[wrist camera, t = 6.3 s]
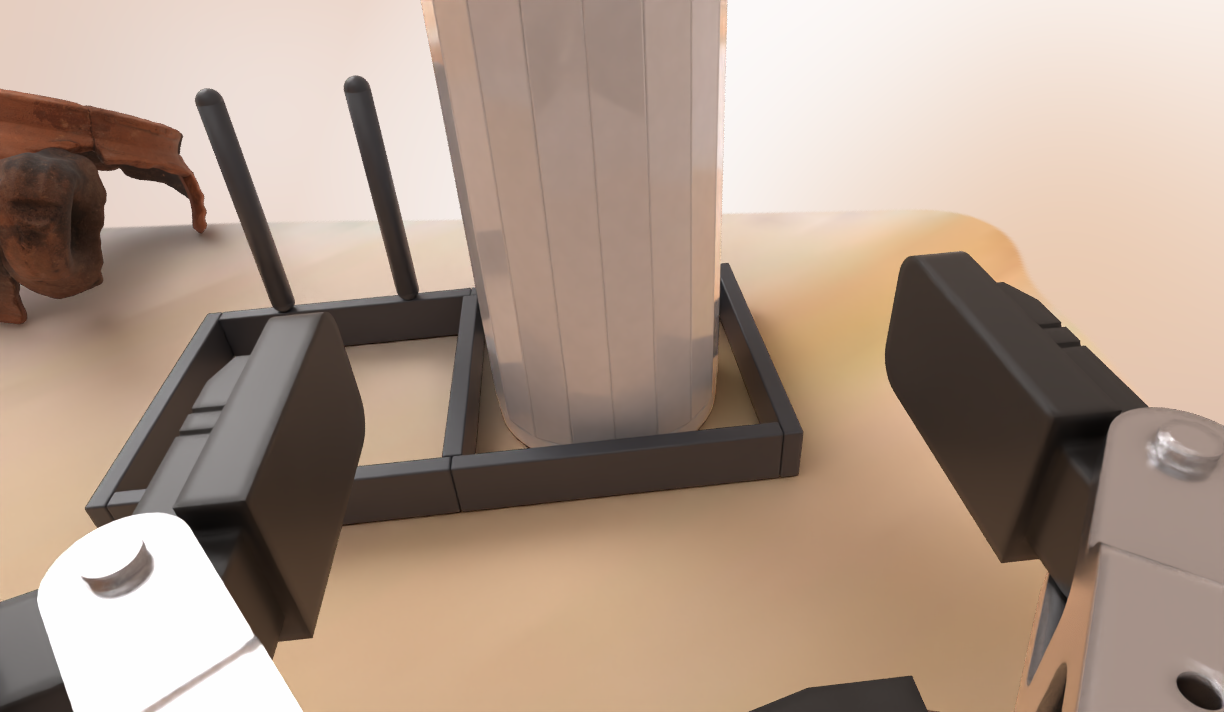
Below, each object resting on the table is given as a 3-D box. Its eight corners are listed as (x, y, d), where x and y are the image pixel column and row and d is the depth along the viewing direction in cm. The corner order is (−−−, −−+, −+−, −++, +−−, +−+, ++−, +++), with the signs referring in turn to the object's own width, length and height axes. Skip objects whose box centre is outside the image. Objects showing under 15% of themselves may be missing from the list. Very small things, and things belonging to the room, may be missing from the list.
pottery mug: (-73, 284, 32) (-63, 82, 31) (184, 306, 38) (200, 136, 36) (-131, 342, 22) (-121, 53, 21) (224, 360, 28) (247, 131, 27)
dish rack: (111, 550, 19) (-99, 239, 14) (224, 348, 26) (112, 93, 21) (799, 476, 19) (837, 152, 14) (727, 298, 26) (735, 39, 21)
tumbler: (496, 479, 20) (376, -93, 12) (502, 339, 25) (422, -122, 18) (737, 453, 20) (766, -123, 13) (694, 320, 26) (696, -143, 18)
